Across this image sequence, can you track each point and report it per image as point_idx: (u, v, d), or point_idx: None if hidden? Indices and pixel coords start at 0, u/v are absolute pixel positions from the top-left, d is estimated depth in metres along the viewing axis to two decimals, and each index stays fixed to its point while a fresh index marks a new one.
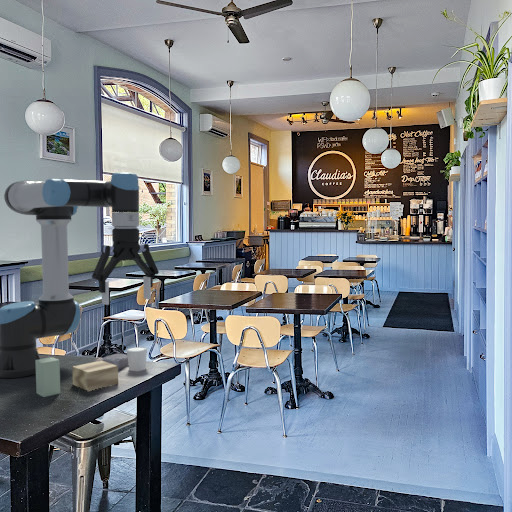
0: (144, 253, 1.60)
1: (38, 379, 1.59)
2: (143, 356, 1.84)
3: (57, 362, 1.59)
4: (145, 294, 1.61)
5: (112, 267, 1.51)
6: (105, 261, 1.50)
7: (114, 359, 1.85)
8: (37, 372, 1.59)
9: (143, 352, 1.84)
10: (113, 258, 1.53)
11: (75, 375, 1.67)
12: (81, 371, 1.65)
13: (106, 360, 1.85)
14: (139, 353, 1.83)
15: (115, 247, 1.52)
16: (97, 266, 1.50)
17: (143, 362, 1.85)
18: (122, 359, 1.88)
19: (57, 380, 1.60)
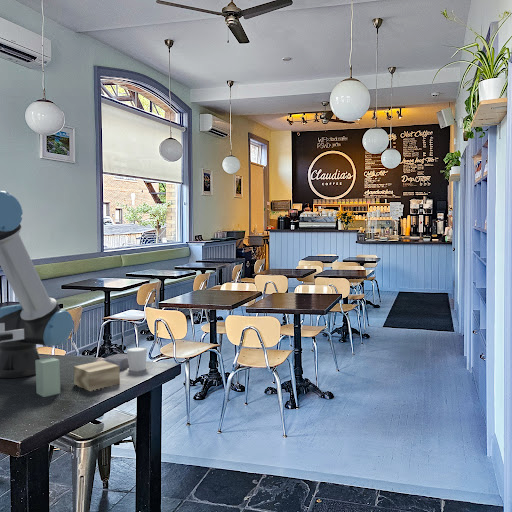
0: None
1: (38, 379, 1.59)
2: (143, 356, 1.84)
3: (57, 362, 1.59)
4: None
5: None
6: None
7: (116, 359, 1.85)
8: (37, 372, 1.59)
9: (143, 352, 1.84)
10: None
11: (76, 375, 1.67)
12: (82, 371, 1.65)
13: (108, 360, 1.85)
14: (139, 353, 1.83)
15: None
16: None
17: (143, 362, 1.85)
18: (124, 359, 1.88)
19: (57, 380, 1.60)
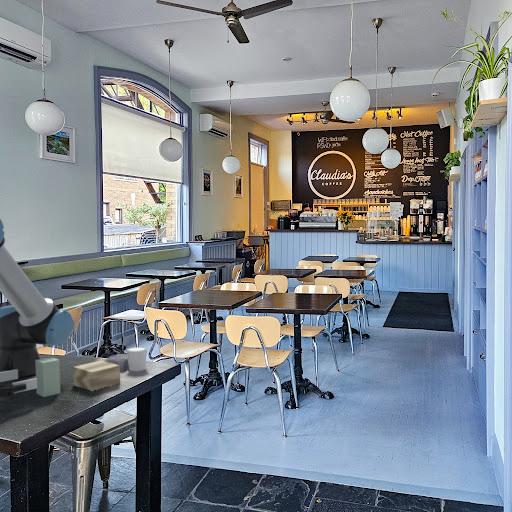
0: None
1: (38, 379, 1.59)
2: (143, 356, 1.84)
3: (57, 362, 1.59)
4: None
5: None
6: None
7: (119, 359, 1.85)
8: (37, 372, 1.59)
9: (143, 352, 1.84)
10: None
11: (76, 375, 1.67)
12: (83, 371, 1.64)
13: (111, 360, 1.85)
14: (139, 353, 1.83)
15: None
16: None
17: (143, 362, 1.85)
18: (127, 359, 1.87)
19: (57, 380, 1.60)
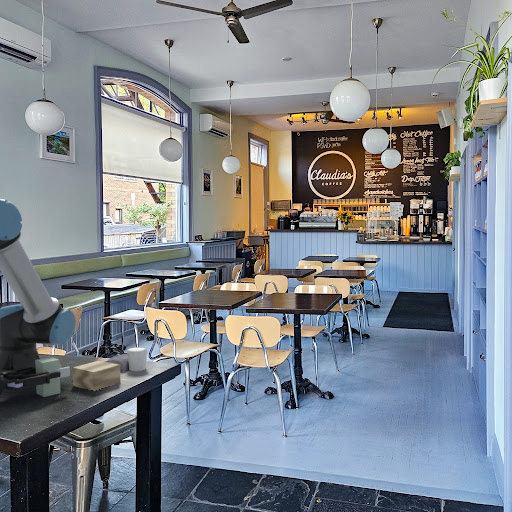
0: None
1: None
2: (143, 356, 1.84)
3: (57, 362, 1.59)
4: None
5: None
6: None
7: (122, 360, 1.85)
8: (37, 372, 1.59)
9: (143, 352, 1.84)
10: None
11: (76, 376, 1.66)
12: (84, 371, 1.64)
13: (114, 360, 1.85)
14: (139, 353, 1.83)
15: None
16: None
17: (143, 362, 1.85)
18: None
19: (57, 380, 1.60)
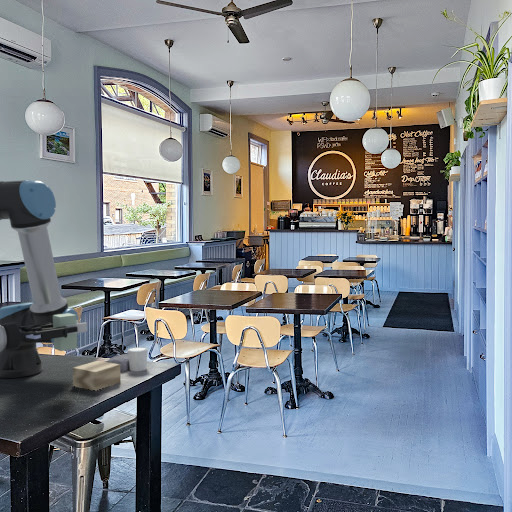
0: None
1: None
2: (144, 356, 1.84)
3: (74, 317, 1.61)
4: None
5: None
6: None
7: (122, 359, 1.84)
8: None
9: (144, 352, 1.84)
10: None
11: (77, 376, 1.66)
12: (85, 371, 1.64)
13: (114, 360, 1.85)
14: (140, 353, 1.83)
15: None
16: None
17: (144, 362, 1.85)
18: None
19: (74, 335, 1.61)
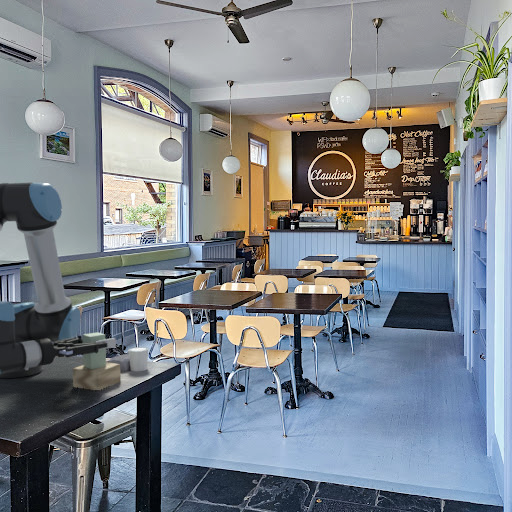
0: None
1: None
2: (144, 356, 1.84)
3: (103, 336, 1.67)
4: None
5: None
6: None
7: (123, 360, 1.84)
8: None
9: (144, 352, 1.84)
10: None
11: (77, 377, 1.66)
12: (87, 371, 1.64)
13: (115, 360, 1.85)
14: (140, 353, 1.83)
15: None
16: None
17: (144, 362, 1.84)
18: None
19: (103, 354, 1.68)
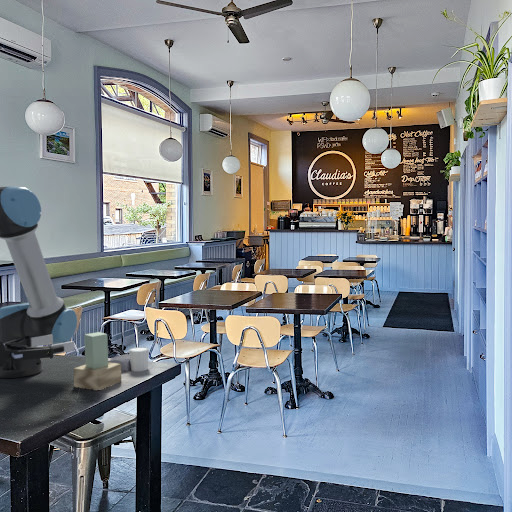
0: None
1: (87, 352, 1.67)
2: (145, 356, 1.84)
3: (105, 336, 1.68)
4: None
5: None
6: None
7: (123, 360, 1.84)
8: (86, 346, 1.67)
9: (145, 352, 1.84)
10: None
11: (78, 377, 1.66)
12: (88, 371, 1.64)
13: (116, 361, 1.85)
14: (141, 353, 1.83)
15: None
16: None
17: (145, 362, 1.84)
18: None
19: (105, 353, 1.68)
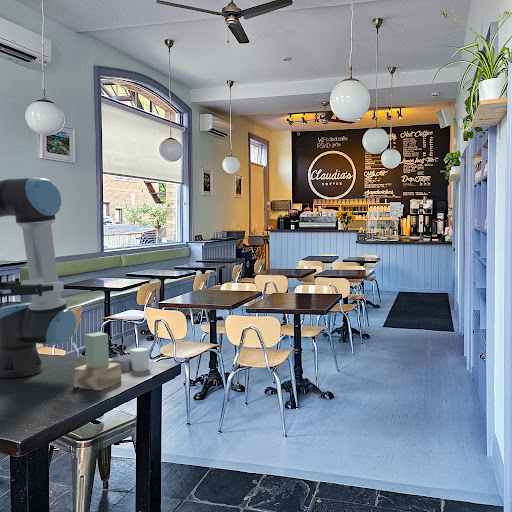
0: None
1: (88, 352, 1.67)
2: (146, 356, 1.84)
3: (106, 336, 1.68)
4: None
5: None
6: None
7: (124, 360, 1.84)
8: (87, 346, 1.68)
9: (146, 352, 1.84)
10: None
11: (78, 377, 1.65)
12: (88, 371, 1.64)
13: (116, 361, 1.84)
14: (142, 353, 1.83)
15: None
16: None
17: (146, 362, 1.84)
18: None
19: (106, 353, 1.68)
